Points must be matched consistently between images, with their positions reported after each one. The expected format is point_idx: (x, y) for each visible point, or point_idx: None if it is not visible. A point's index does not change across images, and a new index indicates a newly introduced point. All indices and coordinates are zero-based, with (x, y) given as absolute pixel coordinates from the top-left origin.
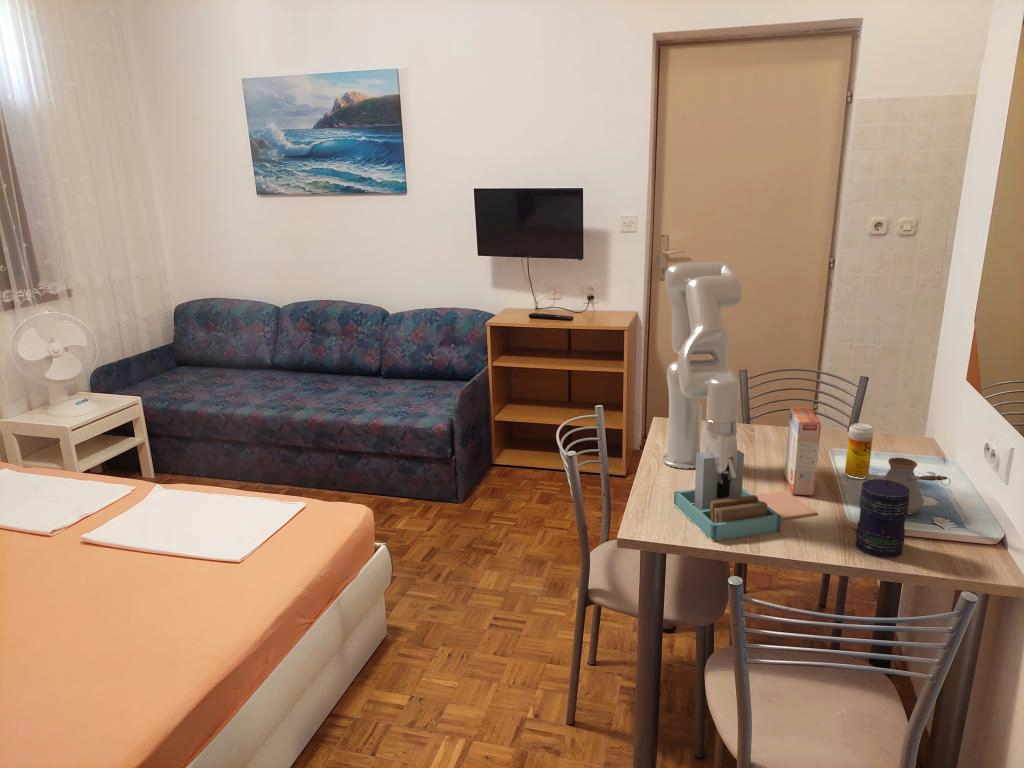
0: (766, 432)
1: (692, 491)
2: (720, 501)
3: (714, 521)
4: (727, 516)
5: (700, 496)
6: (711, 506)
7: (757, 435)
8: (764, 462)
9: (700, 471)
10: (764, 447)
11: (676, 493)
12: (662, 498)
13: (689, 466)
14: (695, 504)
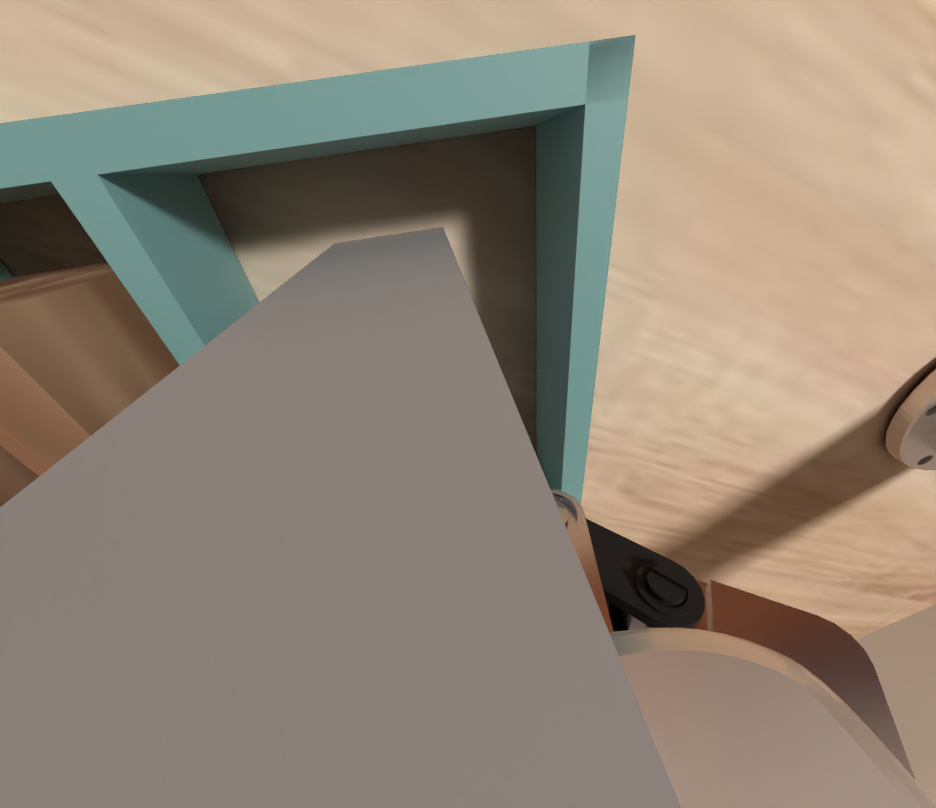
0: (876, 614)
1: (573, 270)
2: (30, 419)
3: (56, 278)
4: None
5: (325, 276)
6: (6, 303)
7: (884, 600)
8: (741, 587)
9: (189, 498)
10: (815, 600)
11: (581, 45)
12: (737, 18)
13: (931, 392)
14: (428, 239)
